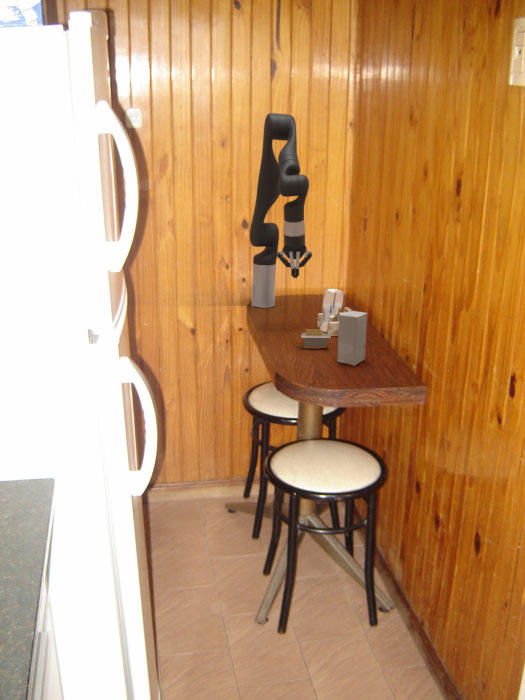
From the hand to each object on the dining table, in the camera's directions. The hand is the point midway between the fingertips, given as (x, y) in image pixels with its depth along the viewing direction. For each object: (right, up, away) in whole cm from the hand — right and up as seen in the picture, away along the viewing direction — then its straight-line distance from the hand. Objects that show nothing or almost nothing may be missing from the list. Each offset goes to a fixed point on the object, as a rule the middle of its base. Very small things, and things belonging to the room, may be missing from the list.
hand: (295, 277), depth 264 cm
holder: (+15, -19, +1) cm, 24 cm away
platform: (+6, -26, -18) cm, 32 cm away
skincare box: (+16, -30, -30) cm, 45 cm away
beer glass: (+12, -20, 0) cm, 23 cm away
